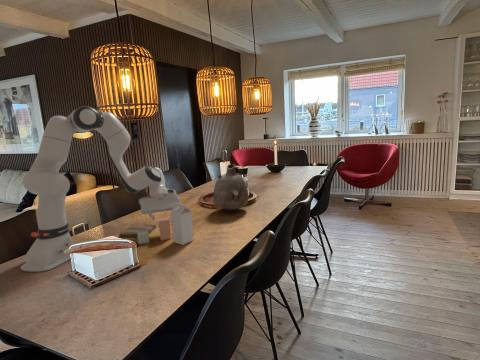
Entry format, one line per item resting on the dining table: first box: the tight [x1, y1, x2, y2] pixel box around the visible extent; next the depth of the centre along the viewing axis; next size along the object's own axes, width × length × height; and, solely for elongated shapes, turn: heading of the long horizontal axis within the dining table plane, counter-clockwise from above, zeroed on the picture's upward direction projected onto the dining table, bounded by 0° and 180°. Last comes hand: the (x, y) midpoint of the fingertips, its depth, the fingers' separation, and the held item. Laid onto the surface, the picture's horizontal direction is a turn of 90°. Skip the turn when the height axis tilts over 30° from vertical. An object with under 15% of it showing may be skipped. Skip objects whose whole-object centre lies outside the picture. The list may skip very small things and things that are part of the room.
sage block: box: [137, 230, 150, 245], centre depth 154 cm, size 5×5×5 cm
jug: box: [213, 163, 249, 212], centre depth 194 cm, size 24×21×30 cm
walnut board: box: [118, 224, 157, 238], centre depth 168 cm, size 14×14×2 cm
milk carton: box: [170, 203, 194, 246], centre depth 151 cm, size 7×7×19 cm
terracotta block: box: [157, 216, 172, 241], centre depth 157 cm, size 5×5×10 cm
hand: (163, 218), depth 159 cm, fingers open, 8 cm apart
